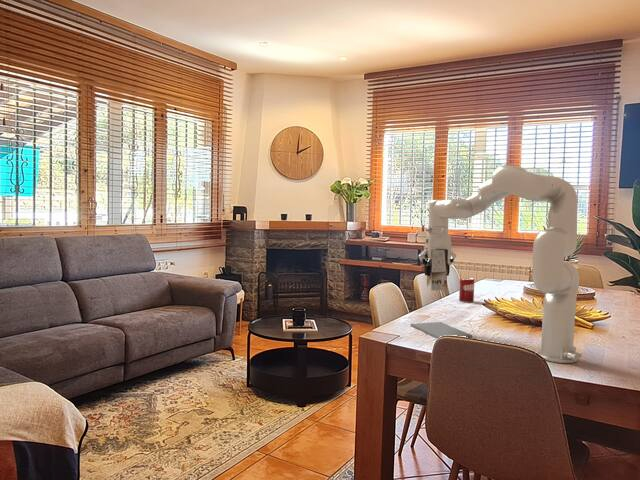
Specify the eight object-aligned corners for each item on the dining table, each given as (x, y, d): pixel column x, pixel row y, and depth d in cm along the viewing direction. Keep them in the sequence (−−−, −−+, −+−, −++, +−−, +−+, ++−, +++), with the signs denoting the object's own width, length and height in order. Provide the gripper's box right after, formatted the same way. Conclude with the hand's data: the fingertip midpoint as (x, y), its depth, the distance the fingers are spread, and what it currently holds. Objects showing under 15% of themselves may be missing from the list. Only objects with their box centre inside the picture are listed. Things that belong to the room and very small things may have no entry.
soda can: (456, 300, 261) (457, 277, 260) (468, 299, 263) (469, 277, 262) (464, 303, 254) (465, 279, 253) (476, 302, 256) (477, 279, 256)
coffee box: (447, 291, 194) (448, 249, 193) (430, 290, 194) (431, 249, 193) (442, 287, 203) (443, 247, 202) (426, 287, 203) (427, 247, 202)
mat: (472, 337, 188) (472, 335, 187) (439, 339, 183) (439, 337, 183) (440, 323, 208) (440, 321, 208) (410, 325, 204) (410, 323, 204)
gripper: (423, 231, 190) (422, 277, 192) (462, 231, 196) (461, 276, 197) (413, 230, 198) (412, 274, 199) (452, 230, 203) (450, 273, 204)
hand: (436, 275), depth 198 cm, fingers closed on coffee box, 7 cm apart
